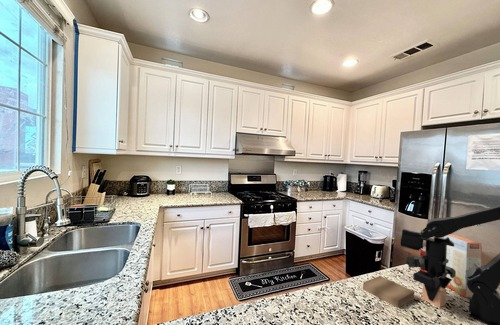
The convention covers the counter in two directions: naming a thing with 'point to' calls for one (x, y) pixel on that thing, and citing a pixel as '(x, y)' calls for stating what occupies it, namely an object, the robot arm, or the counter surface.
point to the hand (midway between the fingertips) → (434, 298)
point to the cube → (439, 298)
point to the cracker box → (462, 261)
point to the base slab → (388, 291)
